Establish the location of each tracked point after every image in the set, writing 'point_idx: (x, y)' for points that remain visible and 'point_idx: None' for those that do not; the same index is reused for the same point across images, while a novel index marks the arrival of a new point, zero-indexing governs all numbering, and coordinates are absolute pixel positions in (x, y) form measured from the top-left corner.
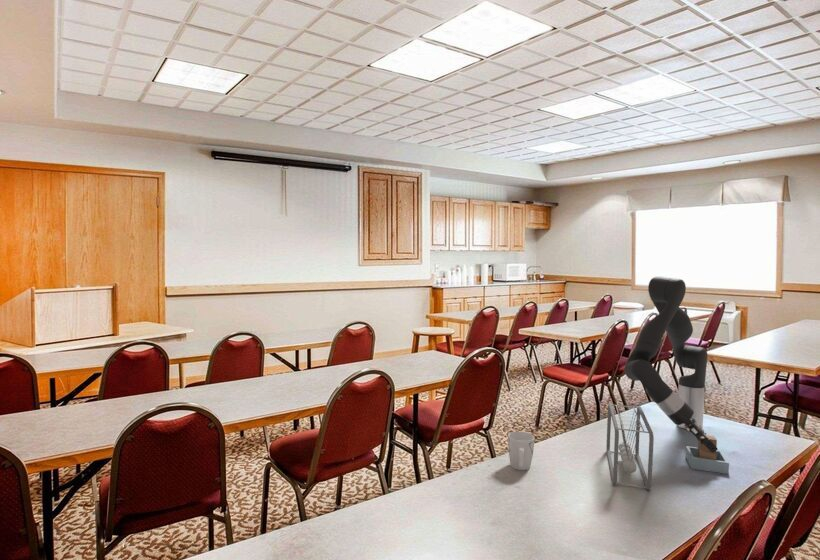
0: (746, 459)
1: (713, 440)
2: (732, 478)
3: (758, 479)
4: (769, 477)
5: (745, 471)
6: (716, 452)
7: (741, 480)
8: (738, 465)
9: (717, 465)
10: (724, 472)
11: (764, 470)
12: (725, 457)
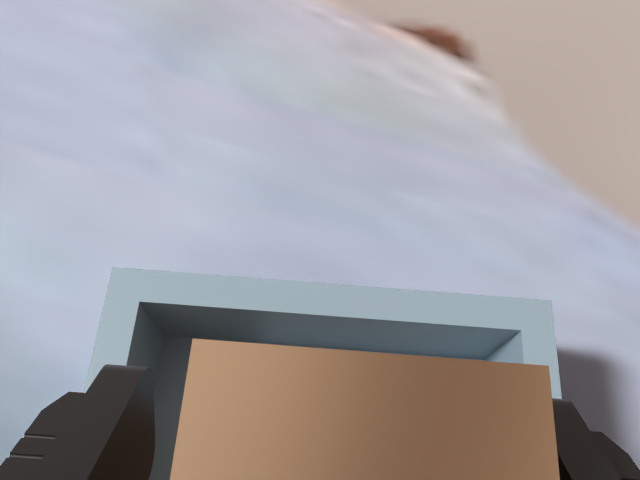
0: (34, 68)
1: (545, 445)
2: (604, 333)
3: (504, 122)
4: (415, 35)
5: (354, 164)
6: (135, 340)
7: (609, 264)
8: (215, 177)
9: None
10: None
11: (269, 21)
12: (358, 287)
